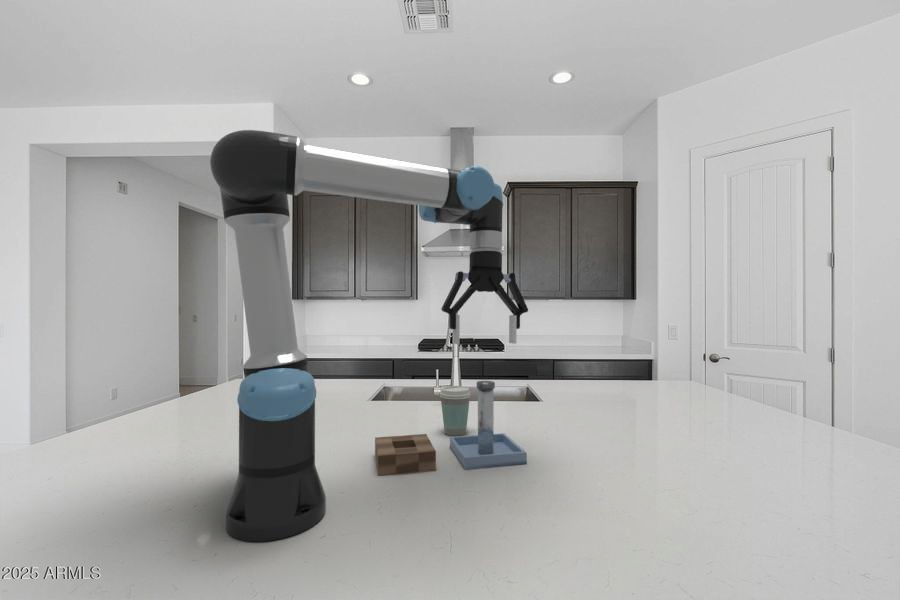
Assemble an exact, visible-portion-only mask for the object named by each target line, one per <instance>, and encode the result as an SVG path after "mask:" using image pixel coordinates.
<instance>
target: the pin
mask: <svg viewBox="0 0 900 600" xmlns="http://www.w3.org/2000/svg"><path fill="white" fill-rule="evenodd" d="M495 386H496V382H495V381H492V380H478V381H476V389H477V435H478V454H480V455H488V454H493V453H494V434H495V431H494V429H495V427H494V409H495V408H494V390H495V388H496V387H495Z"/></svg>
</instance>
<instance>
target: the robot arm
mask: <svg viewBox="0 0 900 600" xmlns="http://www.w3.org/2000/svg"><path fill="white" fill-rule="evenodd" d="M209 163H210V171H211V174H212V177H213V179H214V181H215V182H216V184H217V185H218V186H219V190H220V196H221V197H220V198H221V205H222V214H223V221H224V223H225V225H227V226H229V227H230V228H232V229H233V230H234V235H235V236H234V237H235V244H236V251H237V258H238V267H239V276H240V283H241V291H242V299H243V307H244V314H245V321H246V329H247V330H246V331H247V337H248V338H247V339H248V345H249V346H248V347H249V354H250V356H249V357H248V359H247V360H246V361H245V362H244V363H243V364H242V370H243V377H244V379H243V380H241V382H240V385H239V389H238V390H239V392H238V394H237V404H238V418H239V419H238V477H237V479H236V482H235V485H234V488H233V491H232V494H231V497H230V500H229V502H228V506H227V509H226V514H225V529H226V532H227V533H228V535H230V536H231V537H233V538H235V539H238V540H242V541H248V542H267V541H274V540H280V539H284V538H288V537H291V536H294V535H297V534H300V533H302V532H303V531H306V530H308V529H310V528H312V527H314V526H315V525H316V524H317V523H318V522H320V520H321V519H322V518H323V517H324V516H325V514H326V511H327V510H326V509H327V507H326V503H327V499H326V492H325V490H324V487H323V484H322V481H321V478H320V476H319V472H318V469H317V467H316V398H317V388H316V383H315V382H316V381H315V378H314V376H313V375H312V374H311V373H310V369H309V363H308V355H307V354H306V353H304V352H303V351H301V350H300V349H299V347H298V340H297V338H298V337H297V331H296V323H295V322H296V321H295V314H294V306H293V299H292V290H291V282H290V274H289V266H288V265H289V264H288V258H287V257H288V256H287V250H286V249H287V248H286V242H285V241H286V240H285V234H284V233H285V232H284V228H285V227H286V225H287V224H288V223H289V222H290V221H291V215H290V207H289V200H288V195H290V196H298V195H299V194H301V193H302V192H304V191H305V192H314V193H320V194H328V195H335V196H336V195H338V196H343V197H345V196H346V197H352V198H359V199H360V198H361V199H368V200H375V201H381V202H384V201H385V202H392V203H400V204H406V205H413V206H418V214H419V217H420V219H421V220H423V222H424V221H425V222H428V223H430V222H431V223H434V224H437V223H438V224H440V223H441V224H453V225H455V224H456V225H464V226H465V225H466V226H468V225H469V250H470V251H471V252H470V253H469V262H468V263H469V264H468V265H469V266H468V268H469V271H468V272H463V271H456V273H455V279H454V282H453V285H452V286H451V289H450V290H449V292H448V295H447V297H446V299H445V301H444V302H443V304H442V307H441V312H443V313H445V314H448V316H449V320H448V323H449V324H448V326H449V329H450V330H453V332H452V333H453V338H452V339H453V340H452V341H453V344H455V345H460V326H461V325H460V324H461V323H460V317H461V315H460V314H457V313H458V312H460V310H461V309H462V307H463V306H464V305H465V304H466V302H468V301H469V299H470V298H471V297H472V296H473V294H475V292H477V293H478V292H480V293H482V292H487V293H493V292H494V293H495V294H496V295H498V297H499V298H500V300H501V301H502V302H503V304H504V305H505V306H506V308H508V310H509V311H510V312H511V315H510V314H509V315H508V316H509V317H508V323H509V324H508V326H509V327H508V343H510V344H513V345H514V344H517V330H519V329H520V328H521V316H522V315H523V314H525V313H528V312H529V308H528V306H527V304H526V301H525V299H524V297H523V295H522V292H521V289H520V288H519V287H518V284H517V281H516V274H515V272H510V273H505V274H504V273H503V271H502V270H503V269H502V268H503V253H502V252H500V251H502V250H503V207H504V201H503V199H504V197H503V189H502V187H501V185H499V184H498V183H496V182H494V179H493V177H492V175H491V173H490V172H489V171H488V169H486V168H484V167H483V166H479V165H472V166H468V167H465V168H463V169H462V170H461V169H459V170H458V169H453V168H445V167H438V166H433V165H429V164H428V165H427V164H421V163H415V162H411V161H403V160H399V159H392V158H386V157H380V156H375V155H369V154H363V153H357V152H351V151H345V150H339V149H333V148H328V147H322V146H315V145H311V144H307V143H305V142H304V141H303V140H302V138H301V137H299V136H295V135H291V134H290V135H289V134H284V133H278V132H272V131H265V130H255V129H243V130H236V131H233V132H230V133H228V134H226V135H224V136H222V137H221V138H220V139H219V140H218V141H217V142H216V144H215V145H214V146H213V149H212V152H211V155H210V160H209ZM466 280H468V282H469V283H470V285H469V286H468V287H467V288H466V290H465V292H463V294H462V295H461V296H460V297H459V299H458V300H457V301H456V302H455V303H454V304H453V302H454V300H455V298H456V297H457V294H458V292H459V290H460V289H461V286H462V285H463V284H462V283H464V282H465V281H466ZM503 280H504V282H505V283H507V286H508V289H509V291H510V293H511V295H512V297H513V299H514V301H513V299H512V298H511V297H510V296H509V295H508V293H507V292H506V291H505V288H504V287H503V286H502V285H501V283H502V282H503ZM452 304H453V305H452Z"/></svg>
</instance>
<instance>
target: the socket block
mask: <svg viewBox="0 0 900 600" xmlns="http://www.w3.org/2000/svg"><path fill="white" fill-rule="evenodd" d="M374 457H375V463H376V464H375V465H376V470H377V476H378V477H379V476H387V475H388V476H389V475H400V474H409V473H410V474H411V473H420V472H423V473H424V472H431V471H437V460H436V459H437V452H436V449H435V447H434V446H433V444H432V442H431V440H430V438H429V436H428V435H427V433H424V434H423V433H422V434H421V433H420V434H408V435H407V434H406V435H393V436H379V437H378V436H377V437H374Z"/></svg>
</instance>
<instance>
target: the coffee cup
mask: <svg viewBox="0 0 900 600" xmlns="http://www.w3.org/2000/svg"><path fill="white" fill-rule="evenodd" d="M471 396H472V395H471V391H470V388H469V387H467V386H461V385H449V386H443V387H441V389H440V392H439V397H440V403H441V404H440V405H441V412H442V420H443V421H442V422H443V429H444V430H443V431H444V432H443V433H444V435H447V436H450V437H459V436H465V435H466V434H467V426H468V417H469V411H470V410H469V407H470V399H471Z"/></svg>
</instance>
